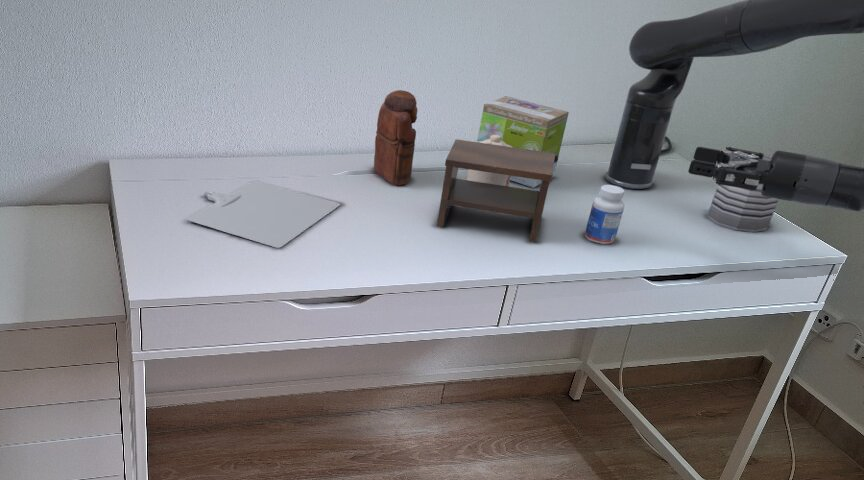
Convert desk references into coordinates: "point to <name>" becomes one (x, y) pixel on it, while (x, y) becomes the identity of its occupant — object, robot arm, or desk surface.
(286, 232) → the grey clipboard
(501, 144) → the teacup with lid
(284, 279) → the desk surface
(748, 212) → the can
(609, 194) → the pill bottle
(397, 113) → the wooden figurine
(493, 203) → the walnut stand
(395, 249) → the desk surface
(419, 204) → the desk surface
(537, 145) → the tea box
